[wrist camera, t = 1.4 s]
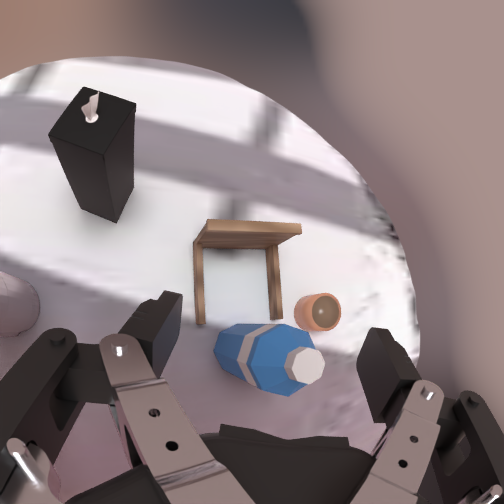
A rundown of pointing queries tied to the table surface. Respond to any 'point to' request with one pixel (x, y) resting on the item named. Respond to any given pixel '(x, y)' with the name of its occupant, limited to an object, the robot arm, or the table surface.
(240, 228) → the brown wooden frame
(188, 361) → the table surface
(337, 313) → the clay pot
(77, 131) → the black square pillar
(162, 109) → the table surface
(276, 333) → the water bottle
